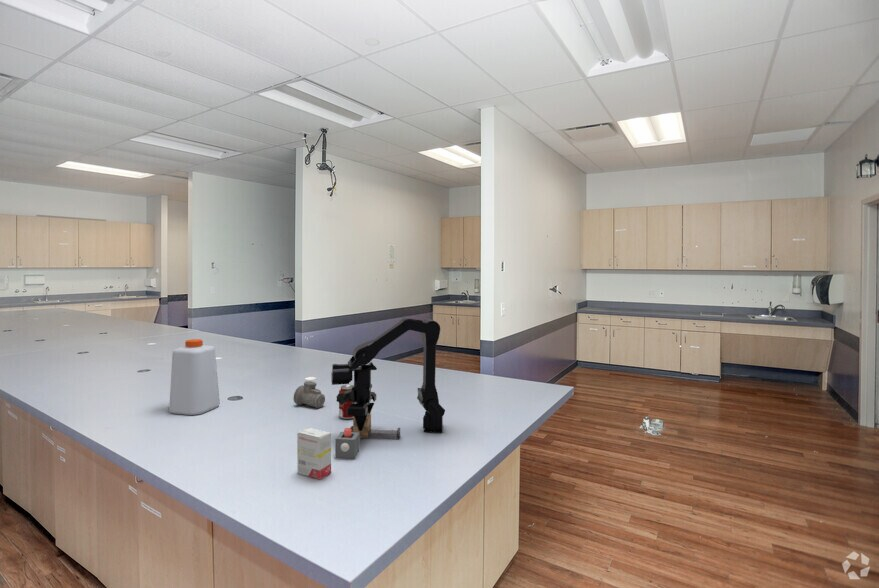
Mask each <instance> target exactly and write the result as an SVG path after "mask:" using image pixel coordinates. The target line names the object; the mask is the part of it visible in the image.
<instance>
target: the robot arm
mask: <svg viewBox="0 0 879 588" xmlns="http://www.w3.org/2000/svg"><path fill="white" fill-rule="evenodd" d="M408 331H413V332H418V333H420V336H421V341H422V344H423V360H422V361H423V364H422V373H423V374H422V385H421V387H417V398H416V399H417V400H418V403H419V404H420V406H422V408H423V409H424V410H425V413H424V415H423V418H422V424H423V425H422V429H423V432H424V433H439V434H440V433H443V430H444V425H443V420H444V418H443V417H444V415H445V412H446V409H445V408H444V407H443V406H442V405H441V404H440V401H439V396H438V394H439V393H438V390H437V388H436V387H437V386H436V365H437V364H436V362H437V361H436V359H437V357H436V354H437V353H436V352H437V349H436V348H437V344H438V341H439V339H440V334H441V326H440V324H439V323H438V322H437V321H435V320H433V319H431V318H426V319H423V320H422V319H415V318H409V317H403V318H401V320H399V322H397V323H395V324H394V325H393V326H391V327H390V328H388V329H387V330H385V331H384V332H383V333H381V334H379V335H378V336H377V337H375V338H374V339H371V340H368V341H366V342H364V343H362V344H359V345H357V346H356V347H354V349H353V353H352V354H353V355H352V356H351V357H350V359H348V362H347V363H344V364H343V363H340V364H339V363H338V364H337V363H333V364H332V365H331V366H332V369H331V372H330V373H331V374H330V376H331V377H330V378H331V380H330V381H331V385H332V386H335V385H350V383H352V381H353V385H354V386H353V387H352V389H350V390H347V391H344V392H341V393H339V392H338V394H337V395H336V403H338V406H339V405H342V404H343V403H346V402H349V401H351V403H355V402H356V404H351V405H350V406H349V407H348V408H347V415H349V416H354V417H355V419H356V423H357V426H358V430H359V431H362V429H363V427H364V424H365V421H366V418H367V416H368V413H370V414H372V413H371V412H372V410H373V408H374V405H375V402H376V401H377V393H375V391H372V388H373V384H372V380H371V379H372V371H376V370H377V369H378V368H377V366H376V365H375V364H374V363H373V362H372V360H374V359H375V357H377V355H378V354H379V353H380V352H381V351H382V350H383V349H384V348H386V347H387V346H389V345H390V344H391V343H393V342H394V341H396V340H397V339H398V338H400V337H401V336H402V335H404V334H405V333H407V332H408ZM371 401H372V402H371Z"/></svg>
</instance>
